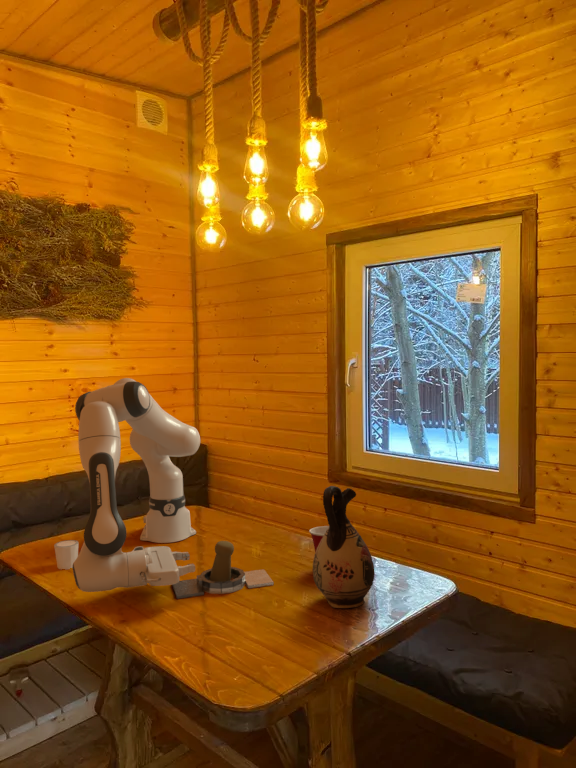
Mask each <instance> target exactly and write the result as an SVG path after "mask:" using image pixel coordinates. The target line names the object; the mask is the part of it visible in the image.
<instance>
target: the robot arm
mask: <svg viewBox="0 0 576 768" xmlns="http://www.w3.org/2000/svg"><path fill="white" fill-rule="evenodd" d="M74 409H75V414H76V418H77V419H78V421H79V422H78V437H77V438H78V451H79V453H78V454H79V458H80V461H81V465H82V469H83V471H85V473H86V475H87V479H88V482H89V497H90V513H89V517H88V520H87V523H86V524H85V527H84V531H83V540H84V541H83V543H82V546H81V549H80V551H79V552H78V557H77V559H76V560H75V561H74V562H73V568H72V572H73V573H72V574H73V578H74V581H75V585H76V587H77V588H78V589H79V590H80V591H82V592H86V593H87V592H88V593H93V592H94V593H95V592H103V591H104V592H105V591H106V592H107V591H111V590H115V589H117V588H126V589H127V588H128V589H129V588H135V587H142V586H143V587H144V586H147V584H149V585H150V586H152V587H153V586H156V587H160V586H171V585H172V586H173V584H176V583H178V582H179V581H180V577H183V576H184V575H187V574H189V573H194V572H196V565H195V564H194V563H193V562H192V563H187V565H183V566H182V565H177V562H176V561H189V560H190V558H191V557H190V553H189V552H188V551H183V552H181V551H172V549H171V548H170V546H166V545H165V546H163V545H162V546H159V545H158V546H147V547H144V546H135V547H134V549H133V550H132V551H128V552H123V551H122V548H123V546H124V544H125V542H126V539H127V527H126V524H125V522H124V521H123V519H122V517H121V515H120V514H119V511H118V507H117V506H118V505H117V493H116V492H117V491H116V474H117V470H118V467H119V465H120V462H121V461H120V459H121V450H122V449H121V448H122V447H121V446H122V442H121V441H122V440H121V431H120V430H121V429H120V425H119V423H120V422H123V421H125V422H126V423H127V424H128V425H129V426H130V428H131V429H132V430H131V432H130V433H129V434H130V435H129V445H130V447H131V449H132V450H133V451H134V452H135V453H137V455H139V457H140V458H141V460H142V462H143V464H144V465H145V468H146V470H147V474H148V481H149V494H150V496H149V499H148V504H149V509H148V512H147V513H146V514H145V515H144V516H143V524H144V527H143V529H142V532H141V534H140V537H139V539H140V541H146V542H147V541H148V542H152V543H159V544H160V543H161V544H163V543H164V544H167V543H175V542H179V541H183V540H186V539H188V538H189V537H191V536H194V535H196V534H197V531H196V529H194V528H193V527H192V526H191V525H192V523H191V522H192V521H191V513H190V510H189V509H188V508H187V507H186V506H185V505H186V497H185V493H184V478H183V477H184V476H183V472H182V471H181V469H180V468H179V467H178V466H176V465H175V464H174V463H173V462H172V461H171V458H170V457H172V458H173V457H177V458H181V457H188V456H189V457H190V456H193V455H195V454H196V453H197V451H198V450H199V448H200V445H201V436H200V433H199V431H198V429H197V428H196V427H194V426H192V425H190V424H187V423H184V422H182V421H181V420H179V419H177V418H176V417H175V416H173V415H171V414H170V413H168V412H167V411H166V410H164V409H163V408H162V407H161V406H160V404H159V403H158V402H157V401H156V400H155V399H154V397H152V395H151V394H150V393H149V390H148V389H147V386H145V385H144V384H143V383H141V382H139V381H136V380H135V379H133V378H131V377H130V378H129V377H124V378H120V379H118V380H117V381H115V382H114V383H113V384H111V385H107V386H105V387H101V388H98V389H94V390H93V391H87V392H85V393H83V394H81V395H80V396H79V397H78V398H77V400H76V403H75V408H74Z"/></svg>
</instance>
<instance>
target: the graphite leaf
mask: <svg viewBox="0 0 576 768" xmlns="http://www.w3.org/2000/svg"><path fill="white" fill-rule="evenodd" d="M211 570H212V567H211V568H209V569H206V570H203V572H201V573H200V575H196V578H191V579H183V580H179V582H178V583H176V584H173V585H172V589H173V591H174V594H175V597H176V599H177V600H179V599H185V598H186V599H187V598H193V596H194V597H201V596H205V591H203V589H202V585H203V586H205V587H208V588H215V589H224V588H231V587H235V586H237V585H239V584H242V583H243V581H244V580H245V573H244V572H245V571H244V570H243V569H241V568H238V567H236V566H231V573H232V574H235V575H238V576H239V577H238V578H236V579H233V578H232V579H231V581H224V582H216V581H210V580H207V579H206V578H207V577H209V576H210V574H211Z"/></svg>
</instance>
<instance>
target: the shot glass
mask: <svg viewBox="0 0 576 768" xmlns="http://www.w3.org/2000/svg"><path fill="white" fill-rule="evenodd" d="M53 546H54V552H55V553H54V555H55V559H56V566H57V569H59V570H62V569H65V570H71V569H70V568H72V569H73V562H74V561H75V560H76V559H77V557H78V555H79V540H74V539H69V540H67V539H66V540H61V541H58V542H56V543H54V545H53Z"/></svg>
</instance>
